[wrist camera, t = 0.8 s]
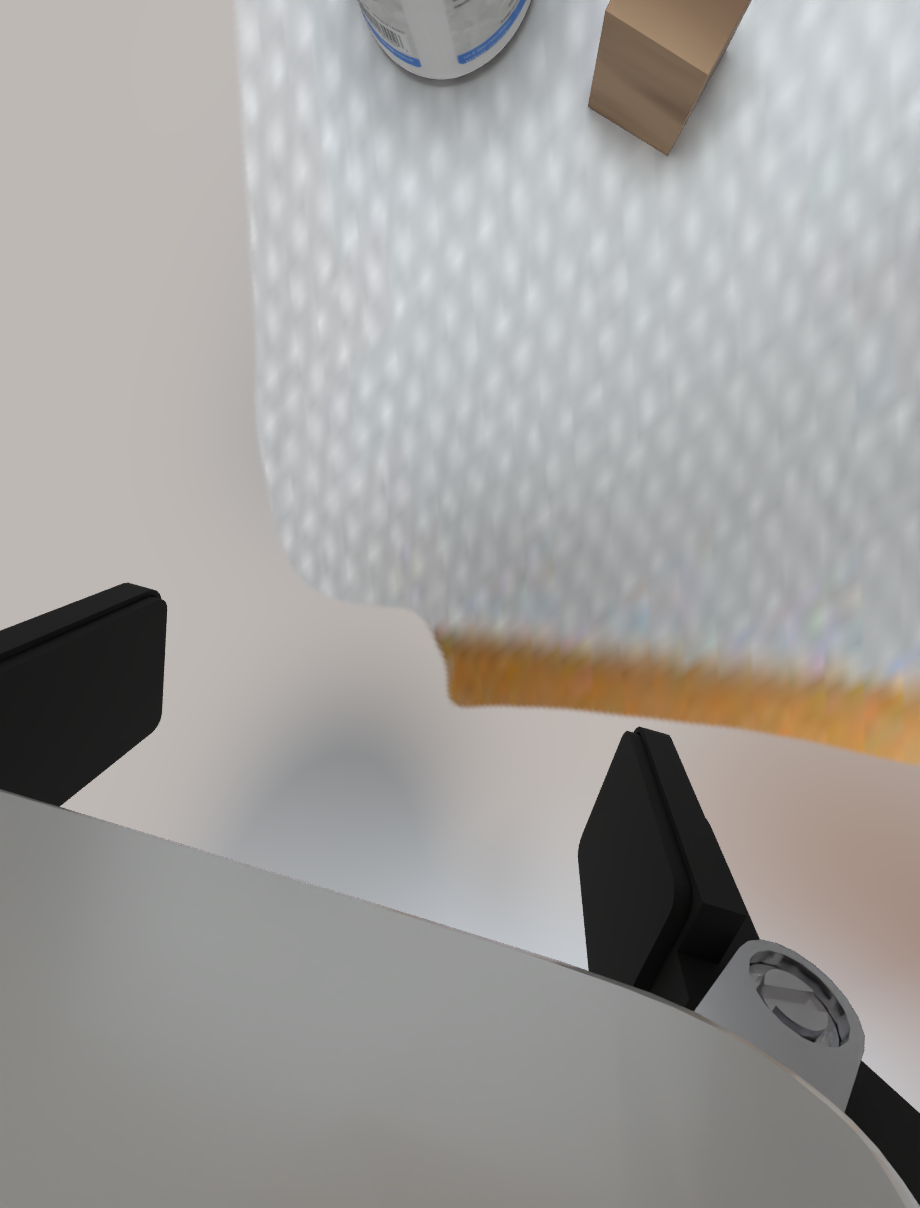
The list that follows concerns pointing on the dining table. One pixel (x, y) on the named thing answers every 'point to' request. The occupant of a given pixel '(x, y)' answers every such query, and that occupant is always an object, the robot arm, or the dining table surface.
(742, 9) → the walnut block
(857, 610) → the dining table surface
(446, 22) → the supplement tub
